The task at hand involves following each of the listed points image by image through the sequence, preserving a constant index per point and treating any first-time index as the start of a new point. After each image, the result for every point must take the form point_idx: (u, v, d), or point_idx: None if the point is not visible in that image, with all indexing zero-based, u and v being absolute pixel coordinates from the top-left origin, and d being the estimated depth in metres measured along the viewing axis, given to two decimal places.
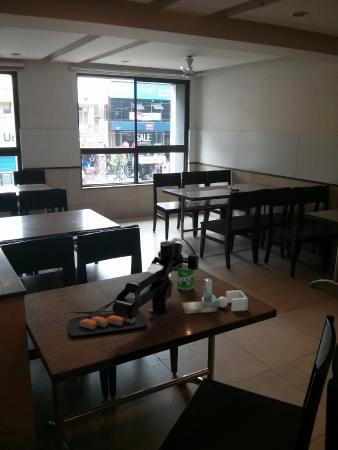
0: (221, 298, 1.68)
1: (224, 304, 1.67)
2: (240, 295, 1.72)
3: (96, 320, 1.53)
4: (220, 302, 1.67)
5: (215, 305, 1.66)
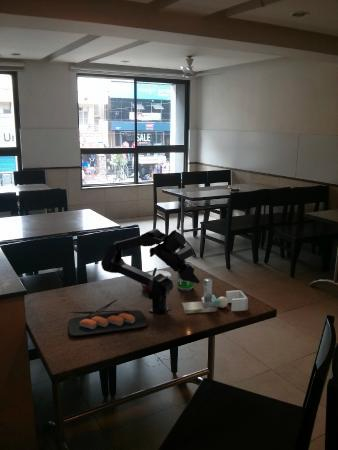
0: (221, 298, 1.68)
1: (224, 304, 1.67)
2: (240, 295, 1.72)
3: (96, 320, 1.53)
4: (220, 302, 1.67)
5: (215, 305, 1.66)
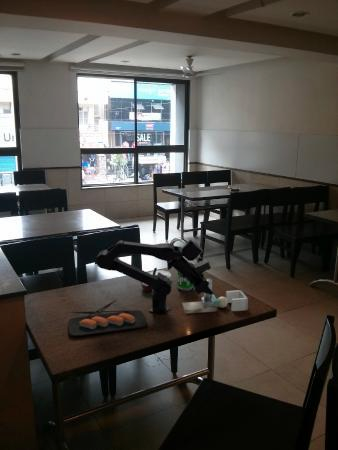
0: (221, 298, 1.68)
1: (224, 304, 1.67)
2: (240, 295, 1.72)
3: (96, 320, 1.53)
4: (220, 302, 1.67)
5: (215, 305, 1.66)
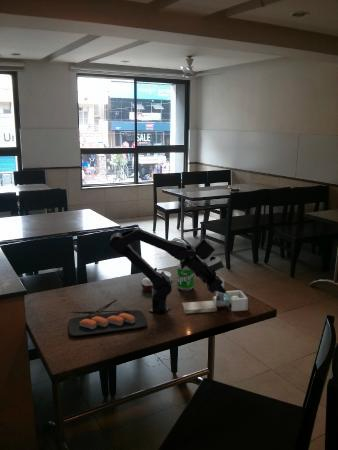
0: None
1: None
2: (240, 295, 1.72)
3: (96, 320, 1.53)
4: None
5: (227, 304, 1.66)
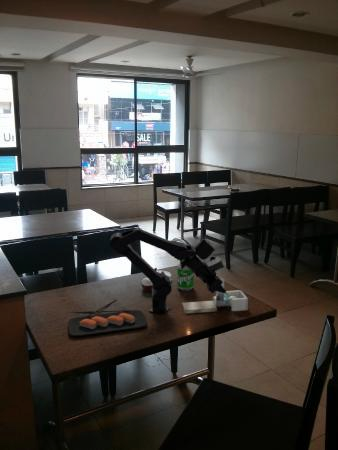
0: None
1: None
2: (240, 295, 1.72)
3: (96, 320, 1.53)
4: None
5: (227, 304, 1.66)
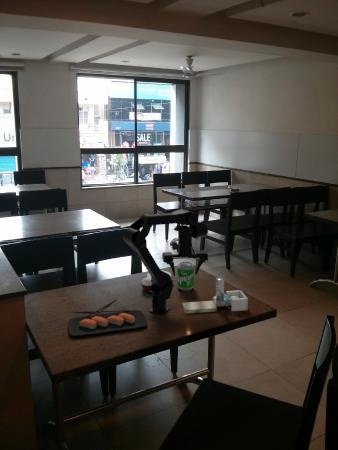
0: None
1: None
2: (240, 295, 1.72)
3: (96, 320, 1.53)
4: None
5: (227, 304, 1.66)
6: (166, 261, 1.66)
